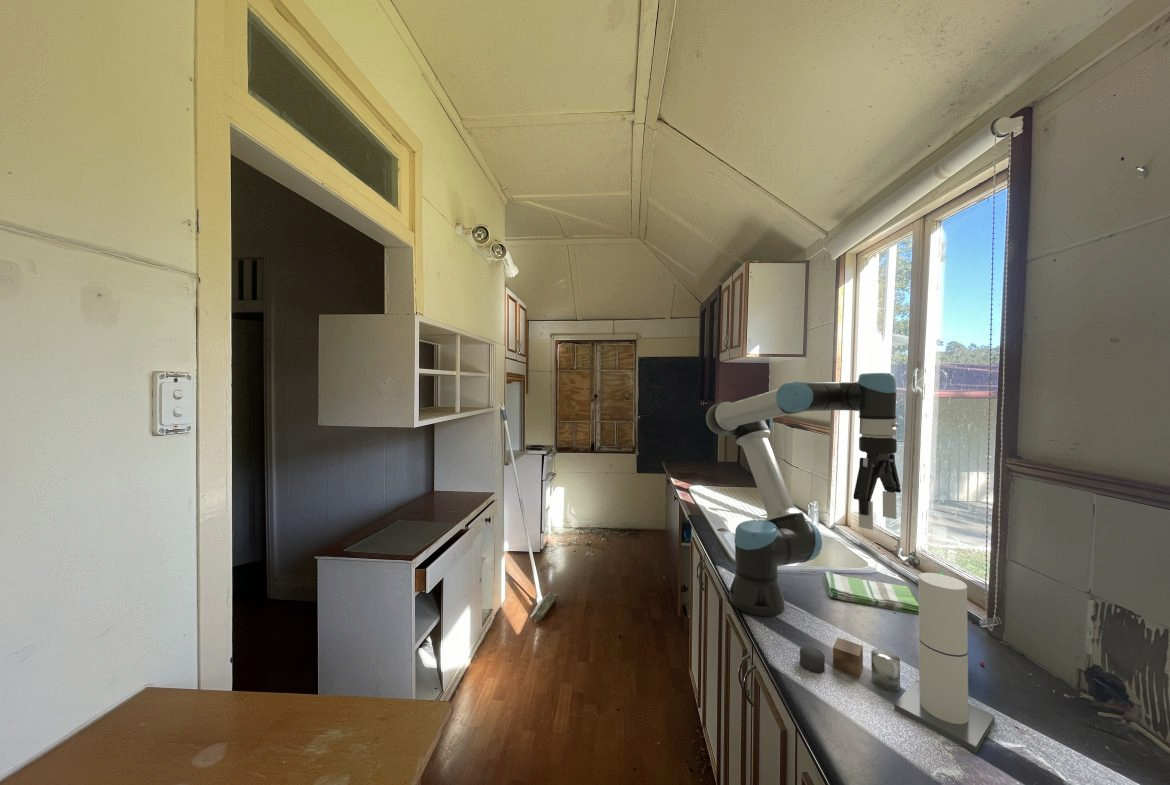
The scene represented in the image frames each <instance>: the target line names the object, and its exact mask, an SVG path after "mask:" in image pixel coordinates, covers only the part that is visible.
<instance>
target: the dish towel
mask: <svg viewBox="0 0 1170 785" xmlns="http://www.w3.org/2000/svg"><path fill="white" fill-rule="evenodd" d="M823 576H824V577H823V578H824V583H825V585H826V589H827V595H828V597H829V598H831V599H836V600H840V601H845V602H850V603H856V604H862V605H867V606H873V607H879V608H883V609H888V610H894V611H899V612H906V613H911V614H917V615H919V601H917V600H916V598H915V596H914V594H913V593H912V591H911V589H910V588H909V586H906V585H899V584H893V583H887V582H886V583H885V582H882V581H880V582H879V581H873V580H868V579H862V578H858V577H857V578H856V577H852V576H851V577H849V576H844V575H840V574H835V573H833V572H830V571H824V574H823Z"/></svg>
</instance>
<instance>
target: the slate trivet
mask: <svg viewBox="0 0 1170 785" xmlns="http://www.w3.org/2000/svg"><path fill="white" fill-rule="evenodd" d="M893 708H894V711H896V712H897V713H900V714H901V715H903V716H905V717H907V718H909V719H910V720H912V721H915V722H916V723H918V724H920V725H922V726H924V727H926V728H927V729H929V730H931V731H932V732H935V733H937V734H939V735H941V736H942V737H944V738H946V739H948V740H949V741H952V742H954V743H955V744H957V745H959V746H960V747H961V746H962V747H963V748H965V749H967V750H968V751H970V752H973V753H975V754H977V752H978V751H979V749H980V747H981V746H982V744H983V742H984V741H985V739H986V737H987V735H988V734H989V732H990V731H991V729H992V727H993V725H994V724H995V717H996V716H995V714H992V713H990V712H988V711H986V710H983V709H982V708H980V707H977V706H975V705H972V704H971V703H969V702H968V722H966V723H964V724H953V723H949V722H946V721H943V720H941V719H939V718H937V717H935V716H933V715H931V714H930V713H929V712H927V711H926V710H925V709H924V708H923V707H922V706H921V704H920V685H919V679H916V680H915V681H914V682H913V683H912V684H911V686H909V688H907V689H906V690H905V692H904V693H903V694H902V695H901V696H900V697H899V698H898V700H896V702H894V707H893Z"/></svg>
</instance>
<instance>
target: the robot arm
mask: <svg viewBox="0 0 1170 785" xmlns="http://www.w3.org/2000/svg"><path fill="white" fill-rule="evenodd" d="M896 385H897V384H896V376H895V374H893V373H891V372H871V373H870V372H868V373H867V372H866V373H861V374H859V375H858V380H857V381H825V382H822V381H821V382H820V381H819V382H814V381H813V382H810V381H808V382H807V381H806V382H805V381H804V382H802V381H793V382H786V383H782V384H781V385H780V387H779V388H777V389H774V390H770V391H767V392H764V393H761V394H760V393H759V394H757V395H753V396H750V397H747V398H744V399H743V398H742V399H740V400H737V401H733V402H730V401H723V402H719V403H715V404H713V405H712V406H710V408H709V409H707V412H706V415H705V422H706V425H707V427H708V429H709V430H710V431H711V432H713V433H714V434H716V435H719V436H724V437H726V436H727V437H734V441H735V444H737V445H738V446H741V447H742V448H743V451H744V454H745V457H746V460H747V463H748V465H749V469H750V471H751V474H752V476H753V478H754V479H753V480H754V482H755V485H756V487H757V490H758V493H759V495H760V499H761V501H762V504H763V507H764V510H765V512H766V517H765V519H758V520H756V519H750V520H745V521H743V522H741V523H739V524H737V525H736V528H735V534H734V553H735V554H734V557H735V558H734V561H735V562H734V563H735V564H734V565H735V575H734V576H733V580H732V583H731V586H730V589H729V601H730V602H729V603H731V605H732V606H734V607H735V608H736V609H738V610H740V611H742V612H745V613H747V614H750V615H754V616H759V617H760V616H761V617H774V616H777V615H780V614H782V613H783V612H784V611H785V598H784V595H783V593H782V589H781V586H780V583H779V581H778V580H779V579H778V577H779V576H778V573H779V572H778V567H781V566H789V565H794V564H799V563H800V564H804V563H807V562H809V561H812V560H815V559H816V558H817V557H818V556H819V555H820V554H821V550H822V548H823V539H822V535H821V532H820V530H819V527H817V526H816V525H815V524H814V523H813V522H812V521H809V520H807V519H806V517H805V516H804V513H803V512H802V511H800V510H798V509H796V507H795V505H794V502H793V499H792V496H791V494H790V491H789V489H788V487H787V484H786V482H785V479H784V476H783V473H782V472H781V469H780V467H779V464H778V461H777V459H776V457H775V454H774V452H773V449H772V447H771V444H770V441H769V438H770V435H771V431H770V430H771V429H772V427H773V424H772V423H773V419H775V418H780V417H783V416H784V417H785V416H788V415H794V414H799V413H806V412H821V411H822V412H825V411H826V412H827V411H828V412H829V411H851V412H852V411H854V412H858V434H860V436H859V437H858V450H859V451H860V452H862V453H865V454H866V457H860V458H859V464H858V466H859V467H858V472H857V476H856V481H855V486H854V492H853V496H852V497H853V500H858V528H862V529H867V530H870V531H872V530H874V502H873V500H872V497H873V494H874V490H875V488H876V484H877V482H878V479H880V482H881V485H882V487H883V489H884V490H883V491H882V517H883V518H888V519H892V520H896V519H897V493H899V494H901V492H902V488H901V484H900V479H899V474H898V469H897V465H896V460H895V459H896V458H895V456H896V455H895V454H896V453H897V450H898V449H897V447H898V446H897V444H898V443H897V438H896V437H895V436H896V435H897V428H898V427H899V426H900V425H899V423H898V422H897V393H898V390H897V386H896Z"/></svg>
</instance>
